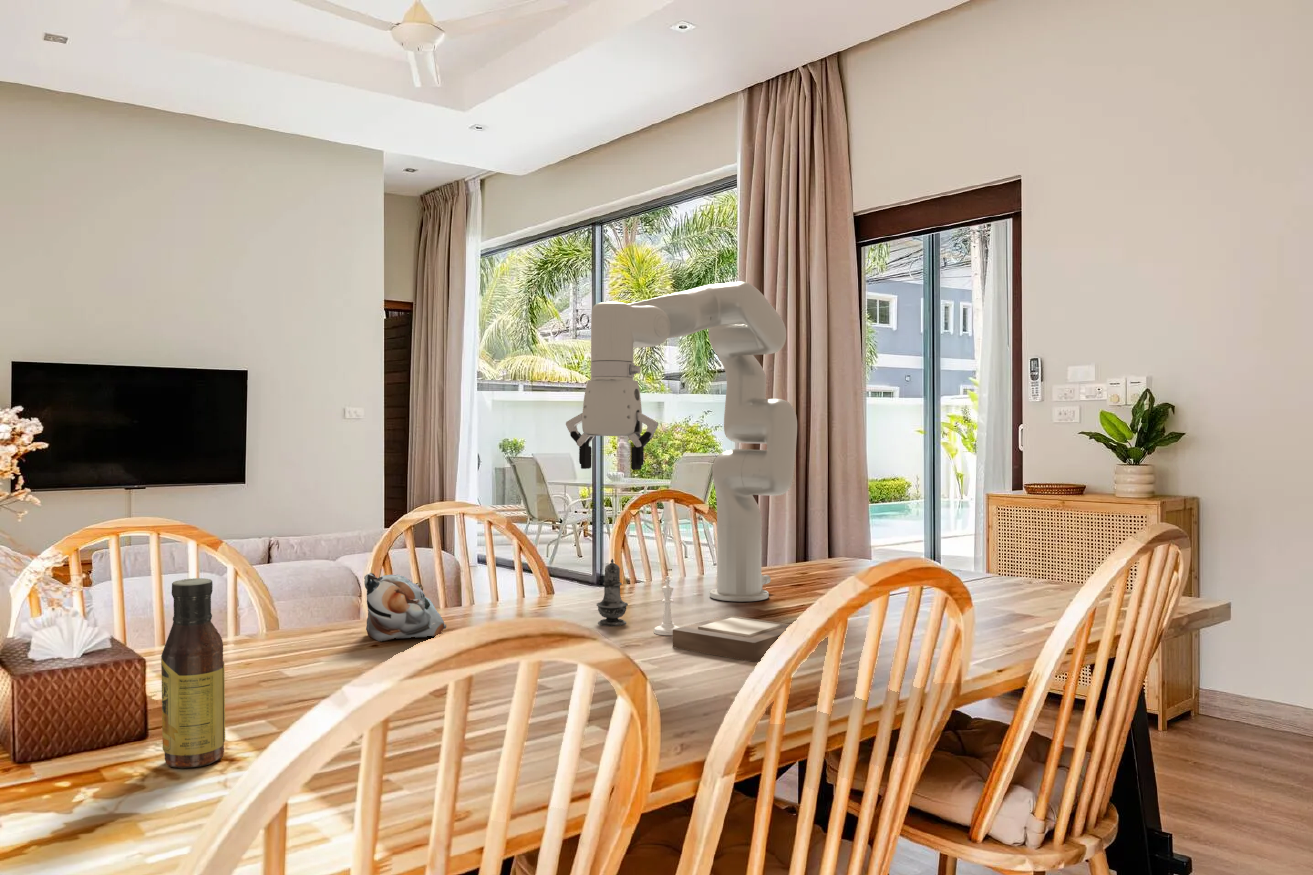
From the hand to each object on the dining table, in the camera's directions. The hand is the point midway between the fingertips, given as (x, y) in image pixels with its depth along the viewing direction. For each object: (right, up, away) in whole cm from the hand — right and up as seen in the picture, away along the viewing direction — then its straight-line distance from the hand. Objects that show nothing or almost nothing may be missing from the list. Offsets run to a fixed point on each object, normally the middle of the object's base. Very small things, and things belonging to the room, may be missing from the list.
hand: (611, 469), depth 177 cm
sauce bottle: (-42, -30, -68) cm, 86 cm away
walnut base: (+22, -29, -11) cm, 38 cm away
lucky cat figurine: (-35, -29, -5) cm, 46 cm away
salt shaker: (0, -29, +8) cm, 30 cm away
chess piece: (+10, -29, 0) cm, 31 cm away
